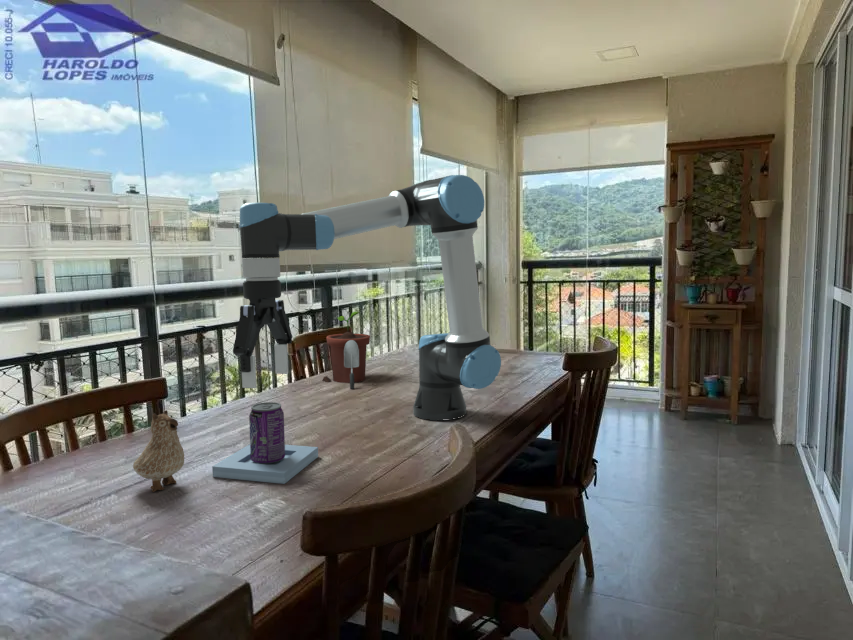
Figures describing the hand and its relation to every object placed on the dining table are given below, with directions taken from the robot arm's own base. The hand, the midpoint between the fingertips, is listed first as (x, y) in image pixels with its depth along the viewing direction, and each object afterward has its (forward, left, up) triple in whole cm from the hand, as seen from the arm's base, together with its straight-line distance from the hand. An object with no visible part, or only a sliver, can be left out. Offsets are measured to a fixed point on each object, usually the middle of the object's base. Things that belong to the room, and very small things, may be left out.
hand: (266, 380), depth 122 cm
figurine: (+15, +15, -19) cm, 29 cm away
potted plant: (+15, -84, -19) cm, 87 cm away
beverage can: (0, 0, -18) cm, 18 cm away
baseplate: (0, 0, -19) cm, 19 cm away
